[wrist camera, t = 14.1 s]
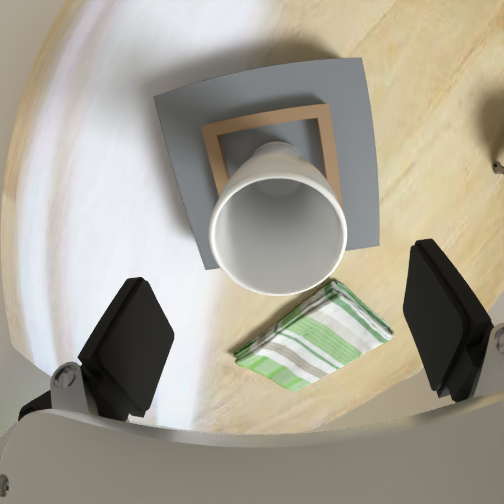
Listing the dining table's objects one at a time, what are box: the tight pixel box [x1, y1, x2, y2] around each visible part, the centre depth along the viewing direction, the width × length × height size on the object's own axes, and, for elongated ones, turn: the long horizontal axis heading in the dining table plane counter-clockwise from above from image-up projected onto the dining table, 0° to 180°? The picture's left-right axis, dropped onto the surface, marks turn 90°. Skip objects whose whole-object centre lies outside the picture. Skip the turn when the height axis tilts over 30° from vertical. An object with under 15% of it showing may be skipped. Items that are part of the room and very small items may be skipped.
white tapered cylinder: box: [209, 141, 347, 296], centre depth 20 cm, size 7×7×15 cm
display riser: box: [154, 58, 379, 270], centre depth 28 cm, size 20×20×6 cm
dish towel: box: [234, 280, 394, 391], centre depth 44 cm, size 17×23×4 cm
